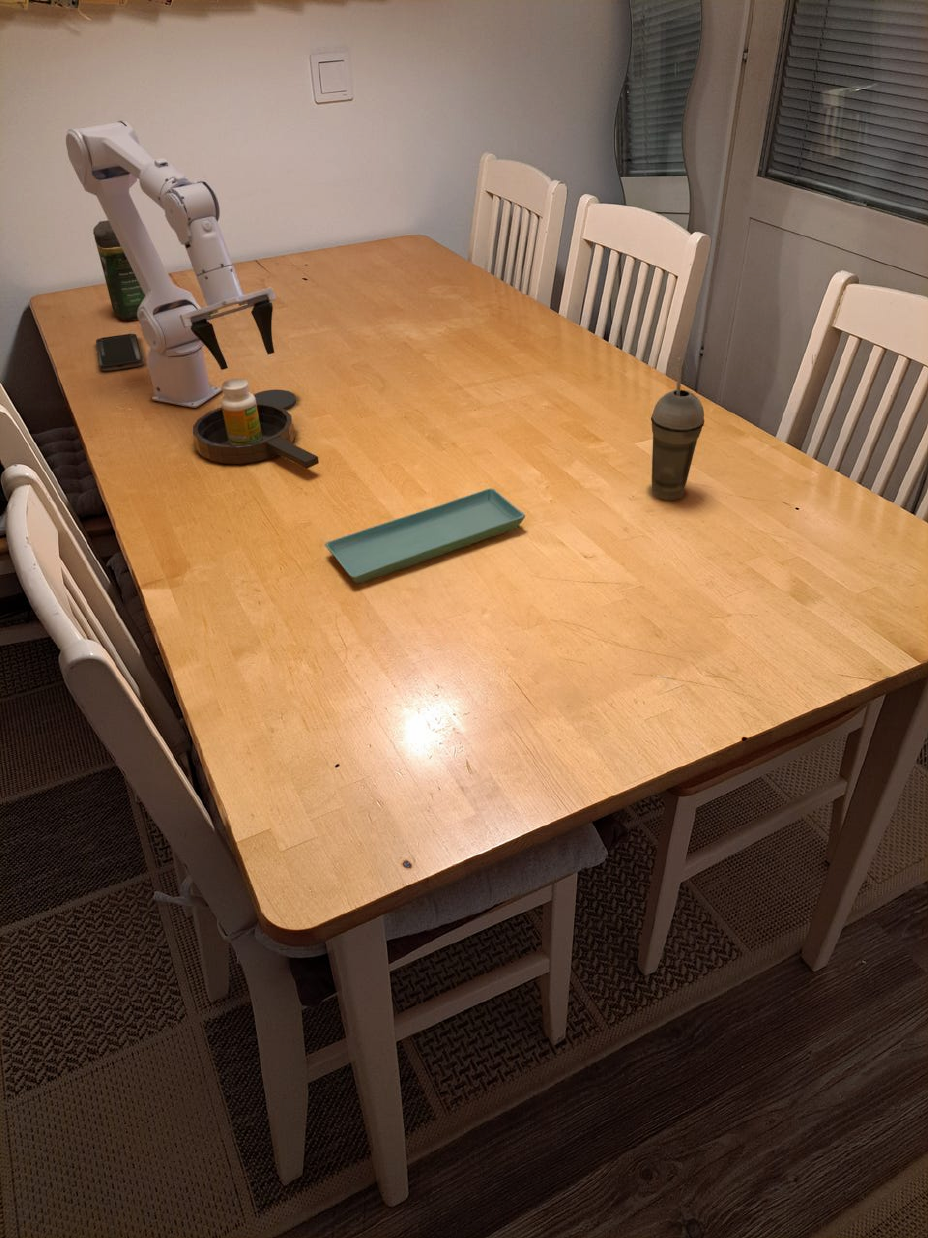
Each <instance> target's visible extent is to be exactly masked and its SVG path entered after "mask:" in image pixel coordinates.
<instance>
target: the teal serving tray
mask: <svg viewBox="0 0 928 1238" xmlns="http://www.w3.org/2000/svg"><path fill="white" fill-rule="evenodd" d="M525 518H526V514H525V513H524V512H523V511H521V510H520V509H519V508H517V507H516V506H515V505H514V504H512V503H511V502H510V501H509V500H508V499H507V498H505V497H504V495H502V494H500V493H499V492H498V491H497V490H495V488H492V487H489V488H485V489H483V490H480V491H477V492H474V493H472V494H468V495H466V496H463V497H460V498H456V499H453V500H450V501H448V502H445V503H442V504H439V505H435V506H433V507H430V508H427V509H423V510H420V511H418V512H415V513H412V514H411V513H410V514H408V515H404V516H402V517H399V518H395V519H393V520H390V521H387V522H383V523H380V524H377V525H374V526H371V527H368V528H366V529H365V528H364V529H362V530H359V531H356V532H353V533H350V534H347V535H344V536H341V537H338V538H335V539H332V540H328V541H326V542H325V543H324V547H326V549H327V550H328V551H329V553H330V554H331V555H332V556H333V557H334V559H335V560H336V561H337V563H339V565H340V566H341V567H342V569H344V571H345V572H346V573H347V574H348V576H349V577H350V578H351V580H352V581H353V582H354V583H355V584H357V585H360V584H363V583H366V582H369V581H371V580H375V579H378V578H380V577H383V576H386V575H388V574H392V573H394V572H397V571H401V570H402V569H406V568H409V567H413V566H414V565H418V564H420V563H423V562H426V561H429V560H432V559H434V558H437V557H440V556H444V555H446V554H448V553H452V552H454V551H457V550H459V549H463V548H465V547H468V546H470V545H473V544H477V543H479V542H482V541H484V540H487V539H490V538H493V537H495V536H498V535H501V534H503V533H506V532H509V531H512V530H515V529H516V528H518V527H519V526H520V525H521V524H522V522H523V520H524V519H525Z"/></svg>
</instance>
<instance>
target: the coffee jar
mask: <svg viewBox="0 0 928 1238" xmlns="http://www.w3.org/2000/svg"><path fill="white" fill-rule="evenodd" d="M92 231H93V232H92V234H93V237H94V241H95V245H96V249H97V253H98V256H99V260H100V264H101V268H102V272H103V275H104V279H105V283H106V288H107V291H108V295H109V299H110V303H111V304H110V305H111V307H112V312H113V313H114V315H115V316H116V318H118V319H120V320H122V321H124V320H127V321H129V320H132V321H139V320H138V317H137V312H138V308H139V306H140V305H141V303H142V301H143V299H144V298H145V294H144V292H143V290H142V288H141V286H140V284H139V282H138V280H137V278H136V276H135V274H134V272H133V270H132V268H131V265H130V263H129V261H128V259H127V257H126V255H125V253H124V251H123V249H122V247H121V245H120V243H119V241H118V239H117V237H116V235H115V233H114V231H113V229H112V227H111V225H110V223H109V221H108V219H107V220H100V221H99V222H98V223H97V224H96V225H95V226H94V227H93V230H92Z"/></svg>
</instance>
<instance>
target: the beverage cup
mask: <svg viewBox="0 0 928 1238" xmlns="http://www.w3.org/2000/svg"><path fill="white" fill-rule="evenodd" d="M682 366H683V357H680V356H679V357H678V358H677V373H676V389H673V390H671V391H668V392H667V393H664V395H663V396H661V397H660V398H659V399H658V400H657V402H656V403H655V406H654V409H653V411H652V414H651V417H650V421H651V432H652V451H651V452H652V453H651V454H652V456H651V493H652V495H653V496H654V497H655V498H657V499H660V500H662V501H676V500H678V499H681V498H682V497H683V496H684V491H685V488H686V487H687V482H688V478H689V475H690V471H691V466H692V462H693V458H694V455H695V450H696V446H697V442H698V440H699V438H700V435H701V433H702V430H703V427H704V426H705V411H704V407H703V405H702V403H701V401H700V399H699V397H698V396H696V395H695V394H694V393H693V392H692V391H688V390H685V389H681V386H682V369H683V368H682Z"/></svg>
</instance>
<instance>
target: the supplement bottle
mask: <svg viewBox="0 0 928 1238" xmlns="http://www.w3.org/2000/svg"><path fill="white" fill-rule="evenodd" d="M221 387H222V388H221V389H222V393H223V397H222V398H221V400H220V403H221V407H222V411H223V415H224V420H225V425H226V430H227V436H228V440H229V442H230V444H232V445H240V444H248V443H254V442H257V441H261V439H262V433H261V427H260V421H259V415H258V410H257V404H256V399H255V396H254V394H253V393H251V392H250V385H249V382H248V380H246V379H244V378H231V379H228V380H226V381H224V382H222V384H221Z"/></svg>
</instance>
